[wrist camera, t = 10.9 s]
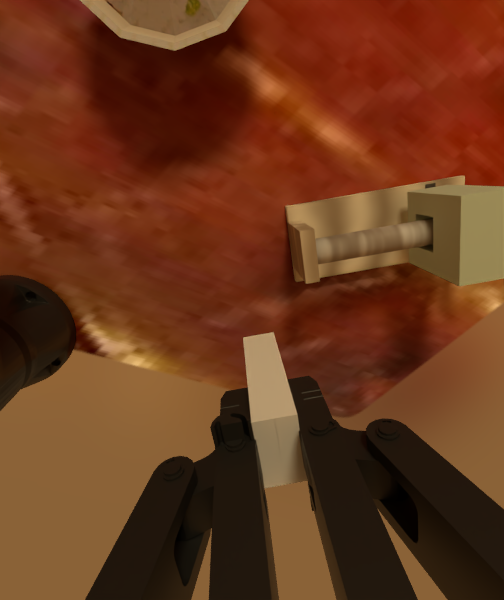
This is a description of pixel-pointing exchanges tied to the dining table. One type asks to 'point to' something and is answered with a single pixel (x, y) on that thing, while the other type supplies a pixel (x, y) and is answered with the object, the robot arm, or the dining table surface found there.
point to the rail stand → (356, 231)
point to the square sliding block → (460, 232)
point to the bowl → (166, 19)
